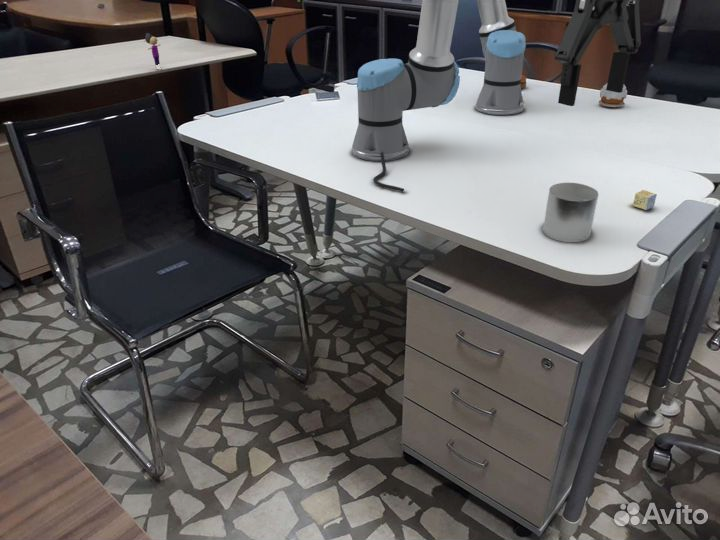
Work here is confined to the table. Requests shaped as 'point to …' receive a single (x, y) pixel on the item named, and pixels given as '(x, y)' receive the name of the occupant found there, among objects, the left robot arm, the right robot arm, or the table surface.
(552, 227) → the can
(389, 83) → the left robot arm
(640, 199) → the alphabet block
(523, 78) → the burger
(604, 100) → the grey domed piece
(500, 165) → the table surface
